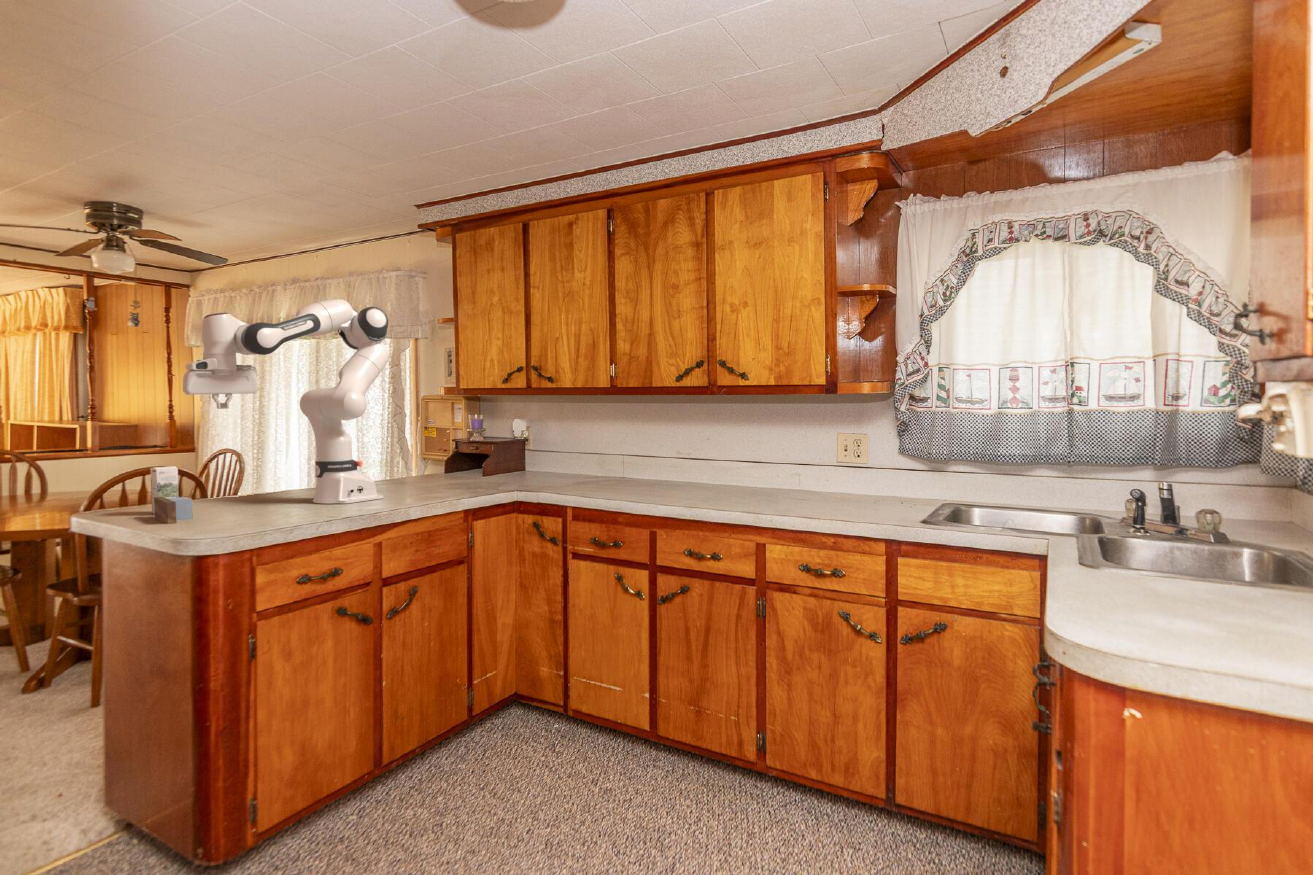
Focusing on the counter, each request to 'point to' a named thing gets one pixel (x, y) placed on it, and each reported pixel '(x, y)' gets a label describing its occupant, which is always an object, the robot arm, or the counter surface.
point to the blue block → (183, 508)
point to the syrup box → (164, 483)
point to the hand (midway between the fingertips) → (223, 408)
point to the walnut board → (165, 509)
